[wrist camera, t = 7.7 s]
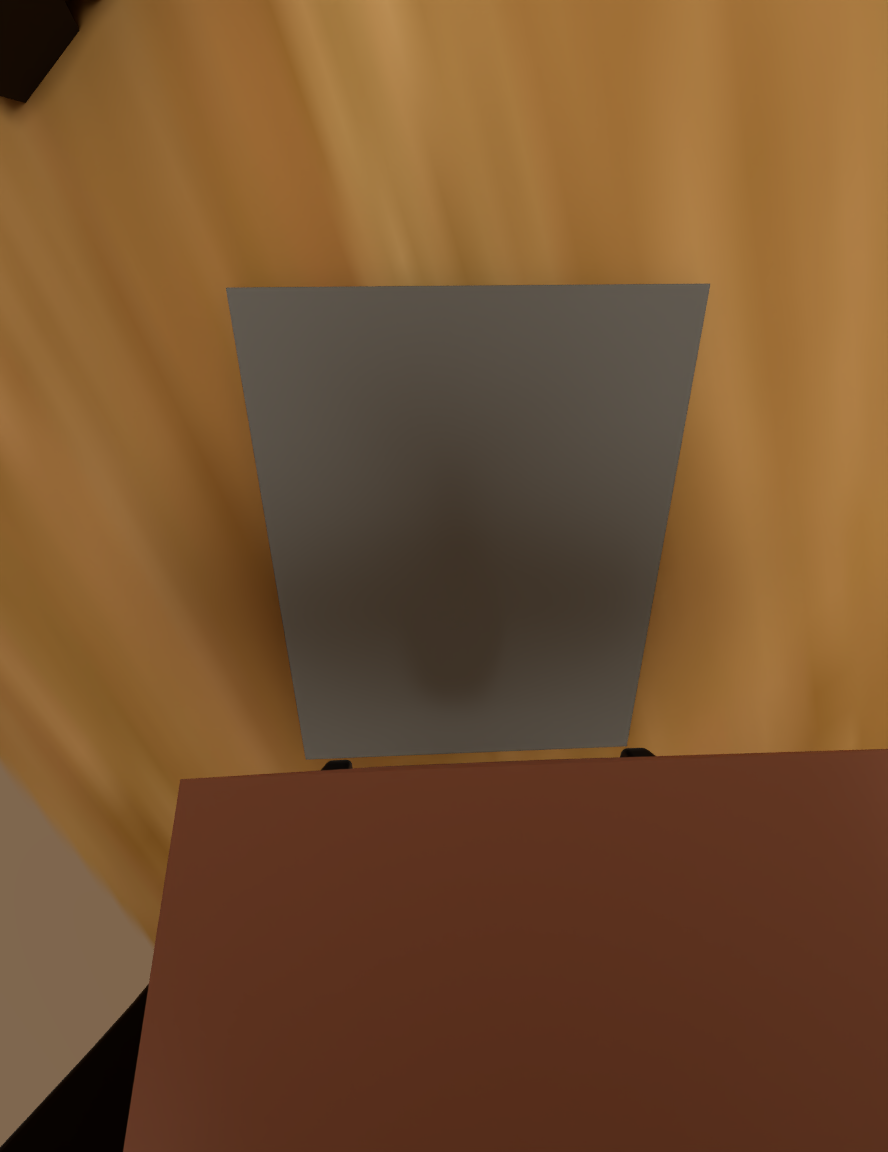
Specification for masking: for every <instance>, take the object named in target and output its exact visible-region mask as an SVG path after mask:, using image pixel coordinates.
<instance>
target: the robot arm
mask: <svg viewBox="0 0 888 1152" xmlns="http://www.w3.org/2000/svg"><path fill="white" fill-rule="evenodd" d="M651 756H655V755H654V754H653V753H651V752H650V751H649V750H647V749H645V748H626V749H624V750H623V751H622V752H621V755H620V757H651ZM338 769H353V768H352V763H351V762H350V761H349V760H334V761H329V762H328V763H327V764H326V765H325V766H324V767H323V768H322V770H338ZM322 770H321V771H322ZM148 987H149V984H148V985H147V986H146V988H145V989H144V990H143V991H142V993H141V994H140V995H139V996H138V997H137V998H136V1000H135V1001H134V1002H133V1003H132V1004H131V1005H130V1007H129V1008H128V1009H127V1010H126V1011H125V1012H124V1013H123V1014H122V1016H121V1017H120V1018H119V1019H118V1020H117V1021H116V1022H115V1023H114V1024H113V1025H112V1027H111V1028H110V1029H109V1030H108V1031H107V1032H106V1033H105V1034H104V1036H103V1037H102V1038H101V1039H100V1040H99V1041H98V1042H97V1043H96V1044H95V1046H94V1047H93V1048H92V1049H91V1050H90V1051H89V1052H88V1053H87V1054H86V1055H85V1056H84V1058H83V1059H82V1060H81V1061H80V1062H79V1063H78V1064H77V1065H76V1066H75V1067H74V1068H73V1070H71V1072H70V1073H69V1074H68V1075H67V1076H66V1077H65V1078H64V1079H63V1080H62V1082H60V1083H59V1084H58V1086H57V1087H56V1088H55V1089H54V1090H53V1091H52V1092H51V1093H50V1094H49V1095H48V1096H47V1097H46V1098H45V1100H44V1101H43V1102H42V1103H41V1104H40V1105H39V1106H38V1107H37V1108H36V1109H35V1110H34V1111H33V1112H32V1114H31V1115H30V1116H29V1117H28V1118H27V1119H26V1120H25V1121H24V1122H23V1123H22V1124H21V1125H20V1126H19V1128H18V1129H17V1130H16V1131H15V1132H14V1133H13V1134H12V1135H11V1136H10V1137H9V1138H8V1139H7V1140H6V1142H5V1143H4V1144H3V1145H2V1146H1V1147H0V1152H123V1149H124V1143H125V1136H126V1130H127V1123H128V1117H129V1110H130V1104H131V1097H132V1091H133V1084H134V1078H135V1071H136V1065H137V1058H138V1052H139V1045H140V1039H141V1032H142V1026H143V1019H144V1013H145V1007H146V1000H147V994H148Z"/></svg>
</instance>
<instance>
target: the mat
mask: <svg viewBox="0 0 888 1152" xmlns="http://www.w3.org/2000/svg"><path fill="white" fill-rule="evenodd" d="M709 288H710V284H621V285H499V286H376V287H254V288H226V291H227V297H228V303H229V309H230V314H231V320H232V326H233V332H234V338H235V344H236V350H237V356H238V362H239V368H240V373H241V379H242V385H243V391H244V397H245V403H246V409H247V415H248V421H249V427H250V432H251V438H252V444H253V450H254V456H255V462H256V468H257V474H258V480H259V486H260V492H261V497H262V503H263V509H264V515H265V521H266V527H267V533H268V539H269V545H270V551H271V556H272V562H273V568H274V574H275V580H276V586H277V592H278V598H279V604H280V610H281V616H282V621H283V627H284V633H285V639H286V645H287V651H288V657H289V663H290V669H291V675H292V680H293V686H294V692H295V698H296V704H297V710H298V716H299V722H300V728H301V734H302V740H303V745H304V751H305V757H306V759H328V758H352V757H376V756H400V755H425V754H449V753H473V752H497V751H521V750H545V749H570V748H594V747H618V746H627V741H628V735H629V730H630V724H631V719H632V713H633V708H634V702H635V697H636V691H637V685H638V680H639V674H640V669H641V663H642V658H643V652H644V647H645V641H646V636H647V630H648V625H649V619H650V614H651V608H652V603H653V597H654V592H655V586H656V581H657V575H658V570H659V564H660V559H661V553H662V548H663V542H664V536H665V531H666V525H667V520H668V514H669V509H670V503H671V498H672V492H673V487H674V481H675V476H676V470H677V465H678V459H679V454H680V448H681V443H682V437H683V432H684V426H685V421H686V415H687V410H688V404H689V399H690V393H691V387H692V382H693V376H694V371H695V365H696V360H697V354H698V349H699V343H700V338H701V332H702V327H703V321H704V316H705V310H706V305H707V299H708V294H709Z"/></svg>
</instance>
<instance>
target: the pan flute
mask: <svg viewBox="0 0 888 1152" xmlns="http://www.w3.org/2000/svg"><path fill="white" fill-rule="evenodd" d="M78 32H79V29H78V27H77V25H76V23H75V21H74V19H73V17H72V15H71V13H70V11H69V9H68V7H67V5H66V3H65V1H64V0H0V96H3V97H6V98H10V99H14V100H17V101H21V102H24V103H26V102H27V100H28V99H29V98H30V96H31V95H32V94H33V92H34V91H35V90H36V88H37V87H38V86H39V84H40V83H41V82H42V80H43V79H44V78H45V76H46V75H47V73H48V72H49V71H50V69H51V68H52V67H53V65H54V64H55V63H56V61H57V60H58V59H59V57H60V56H61V55H62V53H63V52H64V51H65V49H66V48H67V46H68V45H69V44H70V42H71V41H72V40H73V38H74V37H75V36H76V34H77V33H78Z"/></svg>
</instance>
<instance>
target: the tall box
mask: <svg viewBox="0 0 888 1152" xmlns="http://www.w3.org/2000/svg"><path fill="white" fill-rule="evenodd" d="M123 1152H888V749H870V750H839V751H807V752H776V753H745V754H713V755H682V756H651V757H619V758H588V759H556V760H530V761H506V762H482V763H458V764H434V765H410V766H386V767H370V768H354V769H338V770H322V771H306V772H291V773H275V774H259V775H243V776H228V777H212V778H196V779H180V786H179V792H178V799H177V805H176V812H175V818H174V825H173V831H172V838H171V844H170V851H169V857H168V864H167V870H166V877H165V883H164V890H163V896H162V903H161V909H160V916H159V922H158V929H157V935H156V942H155V948H154V955H153V961H152V968H151V974H150V981H149V987H148V994H147V1000H146V1007H145V1013H144V1019H143V1026H142V1032H141V1039H140V1045H139V1052H138V1058H137V1065H136V1071H135V1078H134V1084H133V1091H132V1097H131V1104H130V1110H129V1117H128V1123H127V1130H126V1136H125V1143H124V1149H123Z"/></svg>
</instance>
